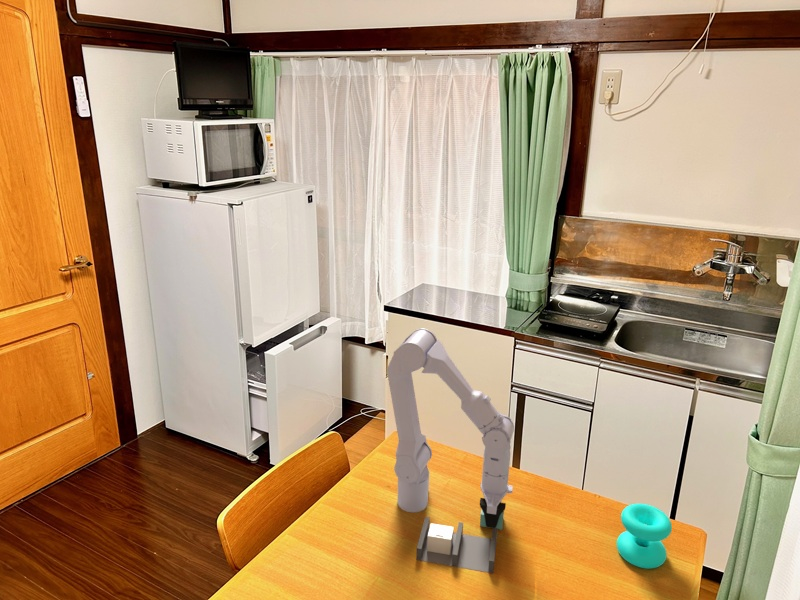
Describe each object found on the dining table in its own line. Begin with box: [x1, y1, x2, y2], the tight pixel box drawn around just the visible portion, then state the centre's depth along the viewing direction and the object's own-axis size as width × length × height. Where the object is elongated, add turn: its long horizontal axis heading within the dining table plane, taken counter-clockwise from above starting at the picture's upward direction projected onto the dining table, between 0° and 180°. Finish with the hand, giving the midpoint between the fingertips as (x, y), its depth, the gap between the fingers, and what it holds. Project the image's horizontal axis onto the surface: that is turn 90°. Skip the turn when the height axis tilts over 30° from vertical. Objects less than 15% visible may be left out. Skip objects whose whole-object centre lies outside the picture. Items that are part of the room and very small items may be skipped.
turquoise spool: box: [616, 503, 673, 570], centre depth 128 cm, size 10×10×10 cm
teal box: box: [479, 508, 505, 530], centre depth 136 cm, size 4×5×4 cm
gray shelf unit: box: [415, 516, 499, 574], centre depth 128 cm, size 10×16×4 cm, turn 77°
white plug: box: [427, 522, 455, 555], centre depth 129 cm, size 4×5×4 cm
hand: (491, 519), depth 137 cm, fingers closed on teal box, 4 cm apart
